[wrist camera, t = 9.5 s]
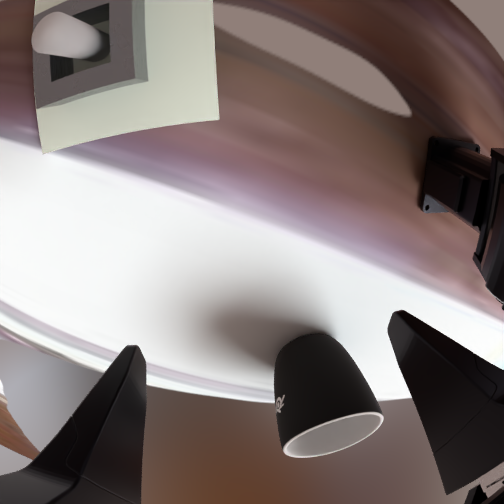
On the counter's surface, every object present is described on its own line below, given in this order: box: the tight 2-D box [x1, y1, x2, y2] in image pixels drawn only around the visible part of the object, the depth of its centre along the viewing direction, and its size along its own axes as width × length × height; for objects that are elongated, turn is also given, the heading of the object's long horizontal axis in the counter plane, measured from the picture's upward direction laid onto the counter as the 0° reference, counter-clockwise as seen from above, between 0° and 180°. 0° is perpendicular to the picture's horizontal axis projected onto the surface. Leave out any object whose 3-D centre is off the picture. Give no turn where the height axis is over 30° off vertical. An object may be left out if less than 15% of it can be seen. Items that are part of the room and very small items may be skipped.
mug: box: [274, 334, 383, 458], centre depth 25 cm, size 12×9×10 cm
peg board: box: [31, 0, 219, 154], centre depth 10 cm, size 12×12×7 cm
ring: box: [33, 0, 148, 109], centre depth 11 cm, size 6×6×3 cm
